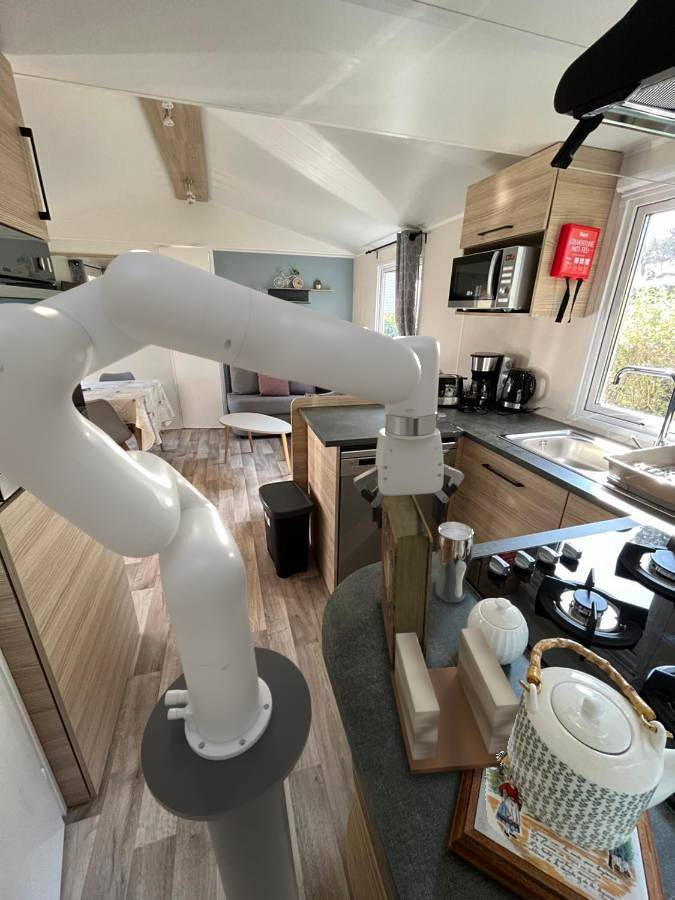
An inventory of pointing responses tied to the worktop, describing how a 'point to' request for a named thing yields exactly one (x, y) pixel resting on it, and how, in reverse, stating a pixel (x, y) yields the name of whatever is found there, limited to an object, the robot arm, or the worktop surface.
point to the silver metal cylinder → (453, 560)
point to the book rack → (453, 706)
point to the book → (405, 570)
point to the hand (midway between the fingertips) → (407, 522)
